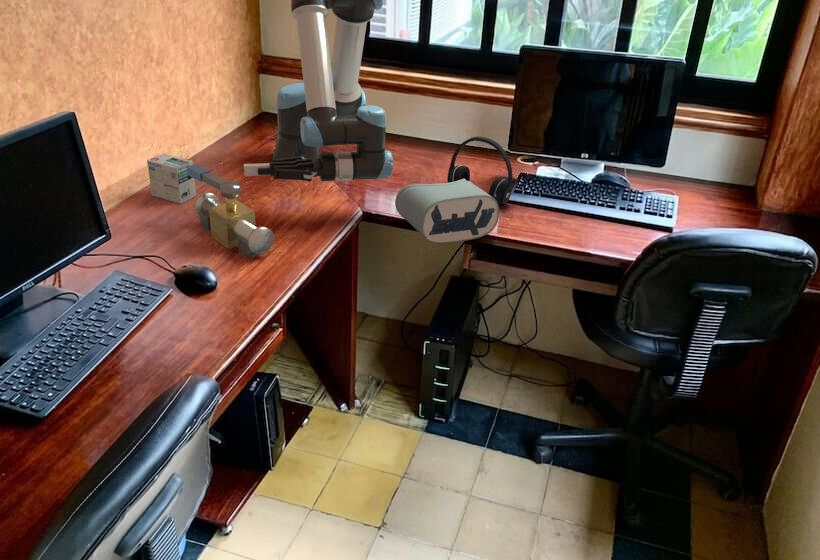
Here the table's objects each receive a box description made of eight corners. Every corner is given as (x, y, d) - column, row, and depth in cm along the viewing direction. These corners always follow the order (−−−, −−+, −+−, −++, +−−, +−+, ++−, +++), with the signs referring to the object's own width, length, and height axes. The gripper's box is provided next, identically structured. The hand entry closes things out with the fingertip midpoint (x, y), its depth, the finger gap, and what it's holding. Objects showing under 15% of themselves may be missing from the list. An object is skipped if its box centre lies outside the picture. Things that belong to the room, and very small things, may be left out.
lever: (244, 194, 180) (244, 185, 178) (228, 199, 177) (227, 190, 175) (200, 171, 190) (199, 162, 189) (184, 175, 187) (183, 167, 186)
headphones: (513, 203, 215) (521, 144, 206) (501, 211, 210) (509, 150, 201) (455, 184, 224) (461, 127, 215) (443, 191, 219) (448, 132, 210)
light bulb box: (197, 196, 206) (193, 160, 200) (181, 204, 201) (177, 167, 195) (167, 187, 209) (162, 152, 204) (150, 196, 204) (145, 159, 199)
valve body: (193, 224, 191) (189, 181, 185) (220, 216, 196) (217, 174, 190) (248, 262, 175) (246, 217, 169) (276, 253, 180) (274, 208, 174)
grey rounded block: (421, 249, 186) (423, 202, 180) (392, 220, 202) (394, 176, 196) (496, 237, 195) (501, 192, 189) (464, 211, 210) (467, 168, 204)
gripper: (338, 189, 192) (246, 193, 186) (330, 170, 203) (243, 173, 197) (339, 162, 188) (245, 166, 182) (330, 144, 199) (242, 147, 193)
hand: (244, 170), depth 190 cm, fingers closed
